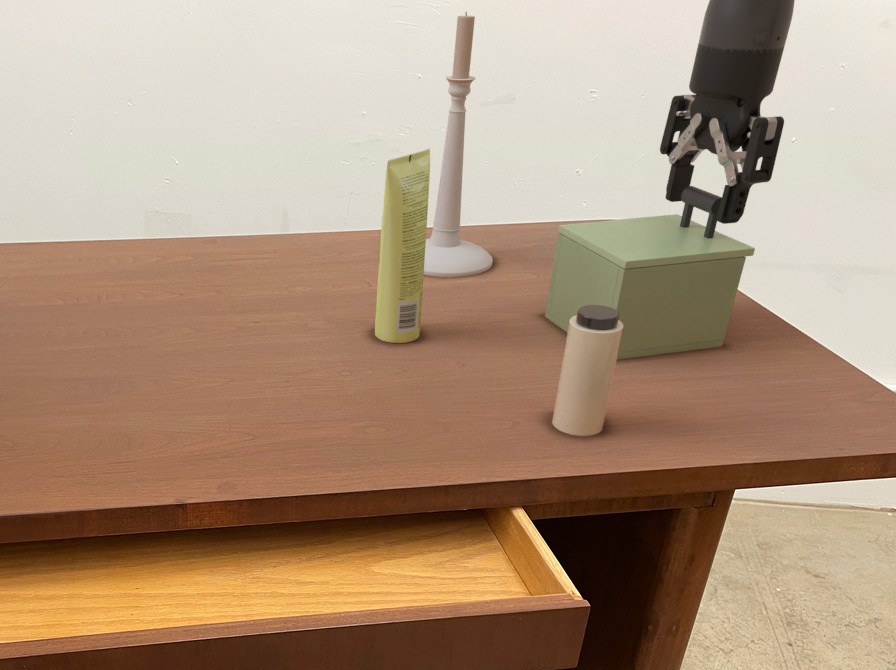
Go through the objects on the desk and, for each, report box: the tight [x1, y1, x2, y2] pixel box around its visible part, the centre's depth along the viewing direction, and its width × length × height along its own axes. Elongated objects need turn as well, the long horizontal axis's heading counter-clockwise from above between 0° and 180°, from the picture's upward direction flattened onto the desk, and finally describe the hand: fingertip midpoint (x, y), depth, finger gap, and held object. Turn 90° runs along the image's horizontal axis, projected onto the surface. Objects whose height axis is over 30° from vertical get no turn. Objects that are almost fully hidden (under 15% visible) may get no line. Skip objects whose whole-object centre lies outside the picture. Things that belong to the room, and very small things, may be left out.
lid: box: [558, 185, 756, 269], centre depth 96 cm, size 15×13×5 cm
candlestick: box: [424, 11, 494, 278], centre depth 116 cm, size 13×13×30 cm
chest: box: [544, 232, 747, 360], centre depth 100 cm, size 14×13×10 cm
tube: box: [374, 147, 431, 344], centre depth 97 cm, size 6×5×20 cm
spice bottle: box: [551, 305, 623, 437], centre depth 81 cm, size 4×4×11 cm
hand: (700, 211), depth 97 cm, fingers open, 8 cm apart
